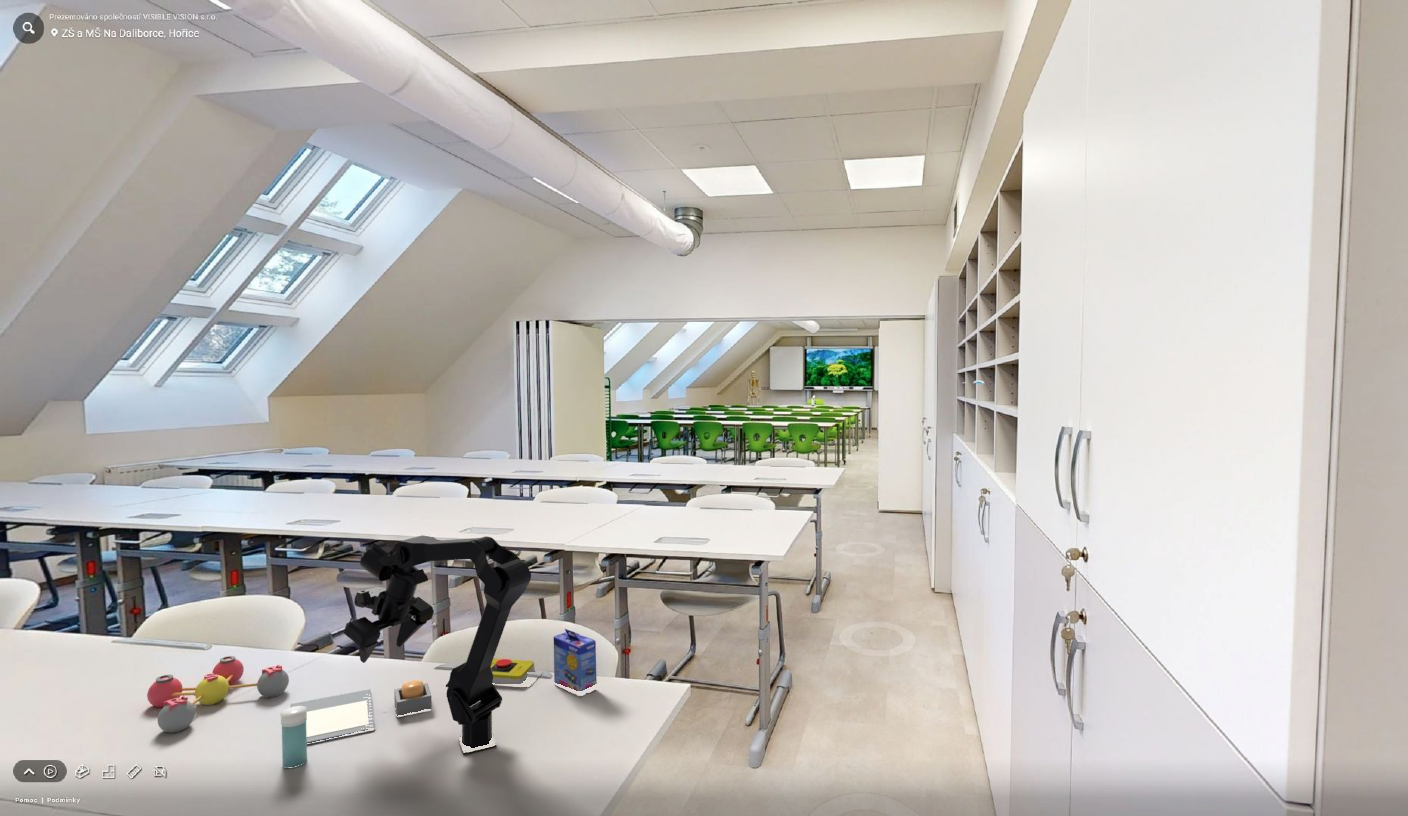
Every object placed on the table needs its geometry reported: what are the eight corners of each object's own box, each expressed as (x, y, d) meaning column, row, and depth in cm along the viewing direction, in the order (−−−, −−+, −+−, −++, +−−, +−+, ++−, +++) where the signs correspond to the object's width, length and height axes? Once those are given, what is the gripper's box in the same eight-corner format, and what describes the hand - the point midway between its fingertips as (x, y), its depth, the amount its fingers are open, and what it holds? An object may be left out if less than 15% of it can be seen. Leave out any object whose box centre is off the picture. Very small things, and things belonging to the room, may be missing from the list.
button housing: (431, 711, 151) (431, 695, 151) (396, 718, 148) (396, 702, 147) (427, 697, 157) (427, 682, 157) (394, 704, 154) (394, 689, 154)
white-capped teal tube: (307, 765, 130) (306, 713, 129) (281, 770, 128) (280, 718, 127) (307, 754, 133) (307, 704, 133) (282, 759, 131) (281, 708, 131)
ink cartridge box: (552, 686, 164) (552, 626, 163) (570, 678, 168) (570, 620, 167) (579, 698, 157) (579, 636, 157) (597, 690, 162) (597, 630, 161)
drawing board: (374, 730, 142) (374, 727, 142) (284, 749, 135) (284, 746, 135) (370, 691, 160) (370, 688, 160) (290, 706, 152) (290, 703, 152)
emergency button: (487, 652, 173) (543, 656, 171) (487, 669, 174) (543, 673, 171) (469, 667, 164) (529, 672, 162) (469, 685, 164) (529, 690, 162)
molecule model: (165, 741, 138) (164, 710, 138) (125, 713, 150) (124, 684, 149) (294, 694, 159) (293, 667, 159) (250, 672, 171) (250, 647, 170)
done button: (424, 700, 151) (424, 686, 151) (402, 704, 149) (402, 690, 149) (422, 691, 155) (422, 679, 155) (401, 696, 153) (401, 682, 153)
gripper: (409, 562, 156) (391, 620, 159) (336, 584, 139) (317, 649, 142) (443, 586, 152) (424, 645, 155) (372, 612, 135) (352, 678, 138)
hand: (381, 653), depth 148 cm, fingers open, 9 cm apart
